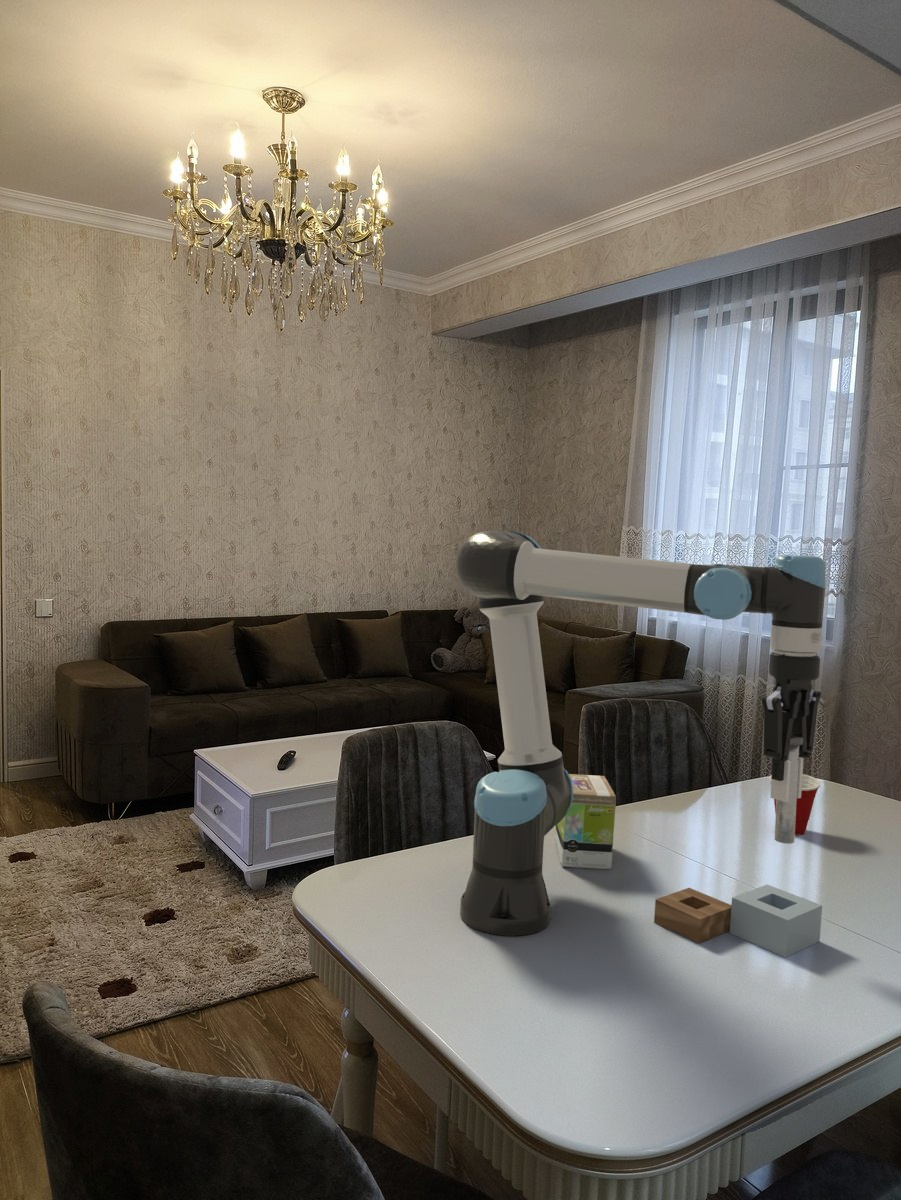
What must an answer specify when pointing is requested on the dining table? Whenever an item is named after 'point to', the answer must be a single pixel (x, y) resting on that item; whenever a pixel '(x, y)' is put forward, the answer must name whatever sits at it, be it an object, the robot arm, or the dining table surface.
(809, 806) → the plastic cup
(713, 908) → the mount block
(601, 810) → the tea box
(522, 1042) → the dining table surface
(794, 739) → the lock pin
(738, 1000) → the dining table surface
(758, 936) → the socket block
